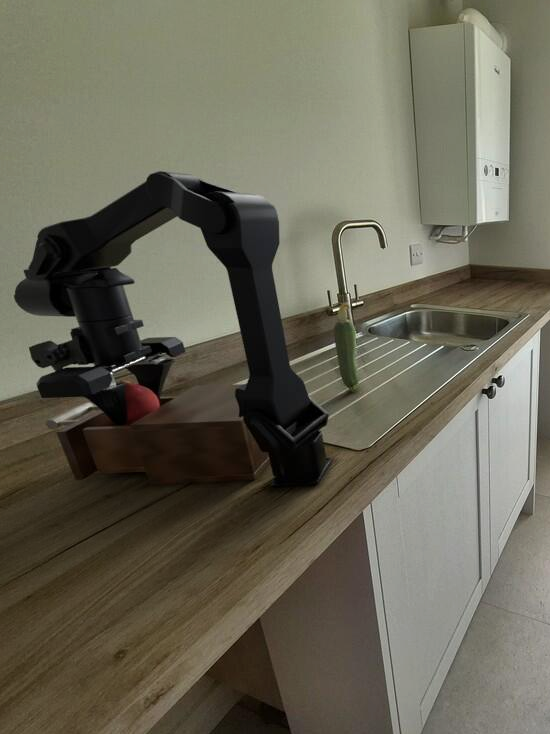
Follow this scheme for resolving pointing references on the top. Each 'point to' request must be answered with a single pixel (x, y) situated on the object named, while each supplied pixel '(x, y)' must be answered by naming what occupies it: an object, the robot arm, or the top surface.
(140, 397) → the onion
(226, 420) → the cabinet
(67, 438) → the drawer
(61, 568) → the top surface
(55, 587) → the top surface
